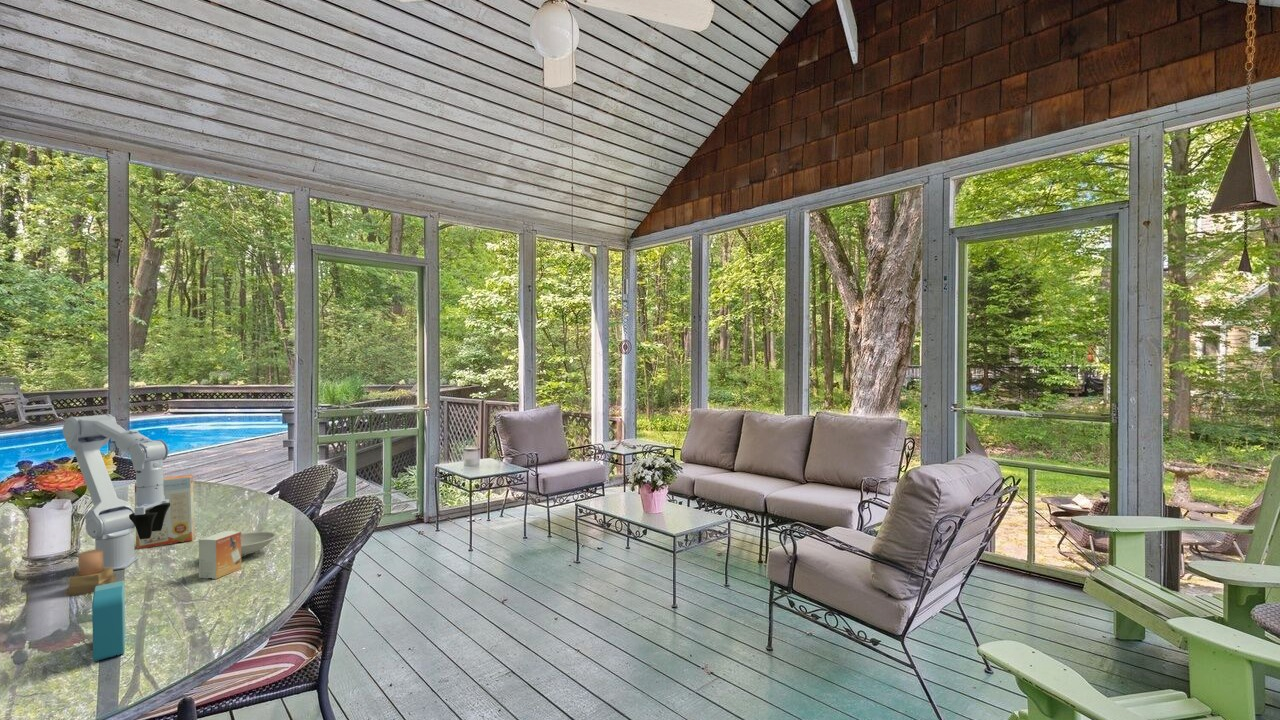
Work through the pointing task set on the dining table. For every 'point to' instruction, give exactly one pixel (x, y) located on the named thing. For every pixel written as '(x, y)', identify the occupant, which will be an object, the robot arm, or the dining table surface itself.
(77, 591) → the tan square slab
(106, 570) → the oak top block
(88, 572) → the terracotta cylinder
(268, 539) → the dish
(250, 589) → the dining table surface
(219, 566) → the small box
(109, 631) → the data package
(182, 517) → the cracker box
